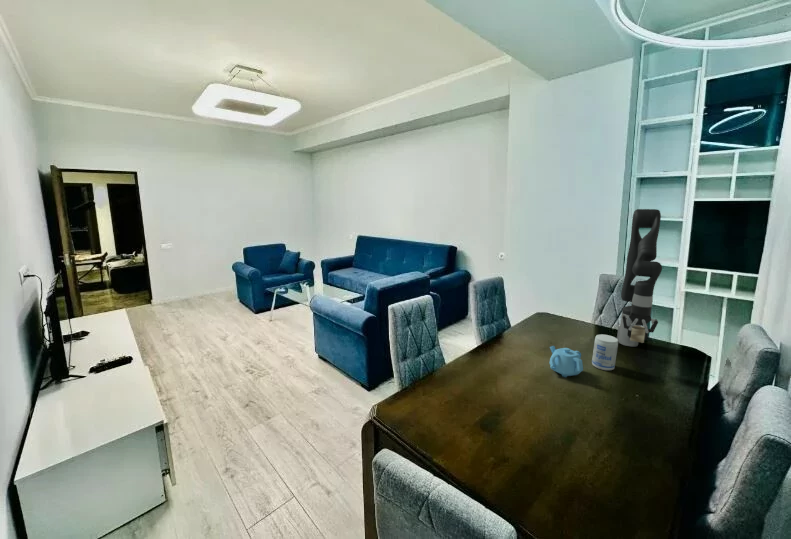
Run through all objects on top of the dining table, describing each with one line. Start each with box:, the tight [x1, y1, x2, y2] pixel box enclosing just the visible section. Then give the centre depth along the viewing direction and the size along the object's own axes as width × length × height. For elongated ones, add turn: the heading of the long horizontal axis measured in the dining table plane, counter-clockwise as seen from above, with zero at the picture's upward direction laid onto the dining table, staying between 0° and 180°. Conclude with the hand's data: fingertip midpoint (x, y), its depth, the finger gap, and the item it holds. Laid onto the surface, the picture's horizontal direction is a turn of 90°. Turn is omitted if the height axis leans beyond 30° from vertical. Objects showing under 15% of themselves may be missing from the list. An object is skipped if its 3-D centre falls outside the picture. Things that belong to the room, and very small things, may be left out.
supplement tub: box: [591, 333, 619, 371], centre depth 165 cm, size 10×10×15 cm
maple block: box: [630, 326, 645, 344], centre depth 161 cm, size 5×5×6 cm
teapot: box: [549, 345, 584, 378], centre depth 161 cm, size 20×17×12 cm
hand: (636, 338), depth 162 cm, fingers closed on maple block, 5 cm apart
